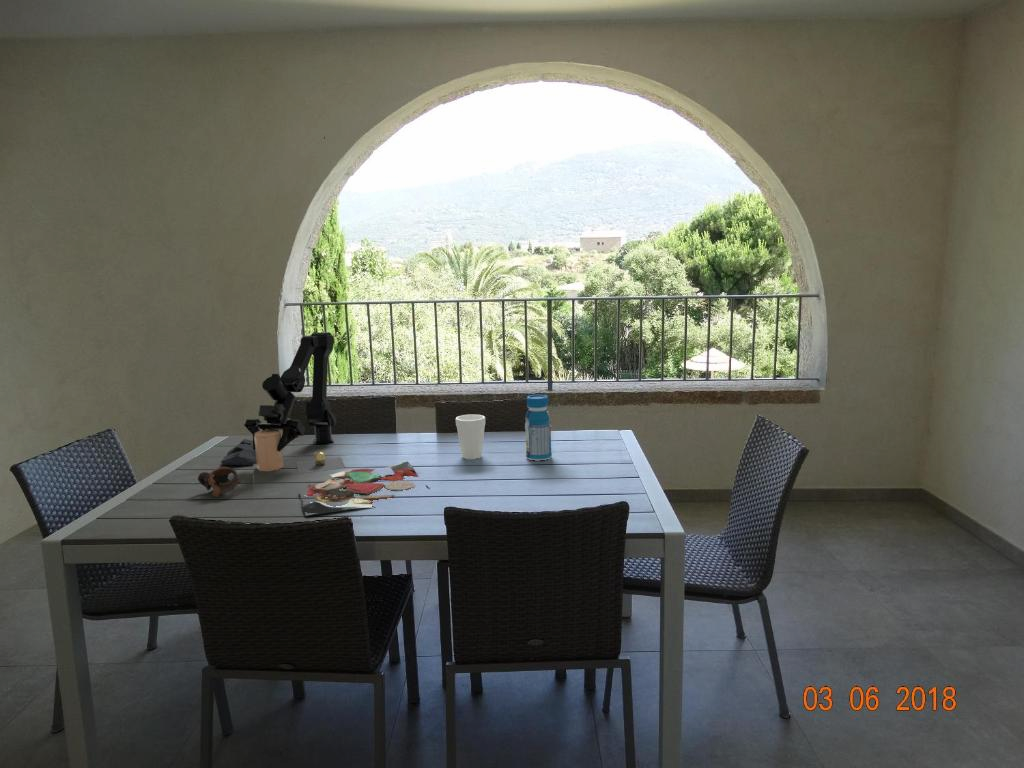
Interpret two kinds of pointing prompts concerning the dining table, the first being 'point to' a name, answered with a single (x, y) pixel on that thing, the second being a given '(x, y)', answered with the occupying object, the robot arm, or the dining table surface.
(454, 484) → the dining table surface
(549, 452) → the beverage bottle
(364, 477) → the colorful flat pile
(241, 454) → the dark slate chunk
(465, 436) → the foam cup
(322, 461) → the brass weight
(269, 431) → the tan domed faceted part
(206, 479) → the brown rounded piece
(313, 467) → the charcoal mat
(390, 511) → the dining table surface
